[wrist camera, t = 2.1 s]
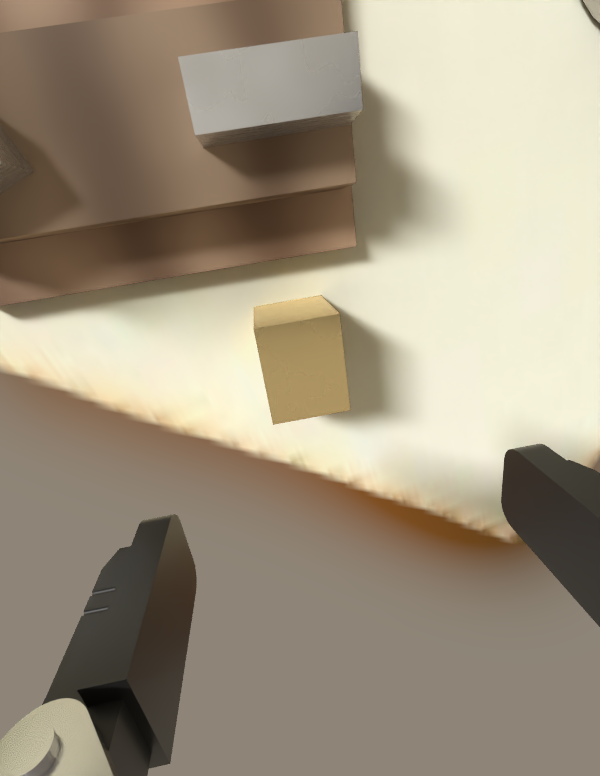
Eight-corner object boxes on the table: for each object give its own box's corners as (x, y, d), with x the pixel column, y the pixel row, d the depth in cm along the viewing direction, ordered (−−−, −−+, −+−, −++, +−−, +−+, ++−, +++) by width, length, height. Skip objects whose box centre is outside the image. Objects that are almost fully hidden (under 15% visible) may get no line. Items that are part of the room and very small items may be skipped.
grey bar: (343, 57, 15) (357, 31, 13) (353, 179, 17) (367, 173, 14) (-168, 132, 14) (-238, 116, 12) (-104, 252, 16) (-157, 256, 14)
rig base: (323, -40, 17) (345, -126, 13) (350, 245, 22) (372, 248, 18) (-142, 22, 16) (-278, -48, 12) (-11, 305, 21) (-76, 324, 17)
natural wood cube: (253, 306, 23) (253, 328, 18) (320, 295, 23) (339, 313, 18) (269, 384, 25) (273, 424, 20) (330, 373, 25) (350, 410, 20)
